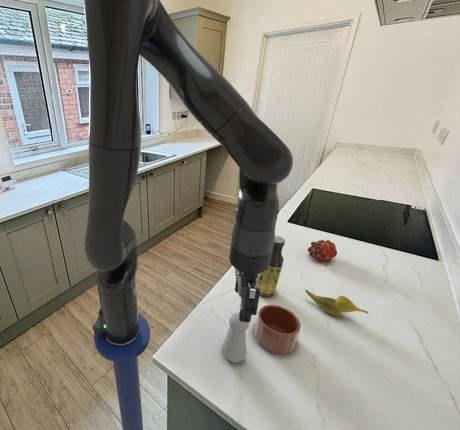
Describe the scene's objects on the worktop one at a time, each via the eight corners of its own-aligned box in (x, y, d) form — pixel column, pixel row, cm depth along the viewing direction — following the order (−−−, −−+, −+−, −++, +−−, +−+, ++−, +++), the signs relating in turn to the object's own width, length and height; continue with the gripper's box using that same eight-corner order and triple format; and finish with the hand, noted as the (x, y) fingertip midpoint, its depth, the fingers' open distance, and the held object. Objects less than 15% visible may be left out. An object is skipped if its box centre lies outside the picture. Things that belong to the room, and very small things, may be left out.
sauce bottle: (254, 295, 83) (264, 242, 74) (253, 283, 88) (262, 232, 79) (276, 300, 81) (289, 246, 72) (274, 286, 86) (286, 235, 78)
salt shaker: (240, 371, 61) (247, 333, 56) (217, 358, 65) (222, 320, 59) (248, 353, 66) (256, 315, 60) (226, 341, 69) (231, 304, 63)
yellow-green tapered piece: (361, 331, 70) (369, 313, 67) (300, 303, 79) (305, 287, 76) (363, 321, 73) (371, 303, 70) (304, 295, 82) (309, 279, 79)
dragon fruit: (308, 267, 97) (321, 259, 104) (334, 264, 90) (346, 256, 97) (300, 245, 98) (313, 238, 105) (324, 241, 91) (337, 234, 98)
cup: (257, 351, 66) (262, 332, 63) (251, 321, 74) (255, 302, 71) (299, 357, 64) (306, 338, 61) (288, 325, 72) (293, 307, 69)
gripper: (228, 224, 57) (222, 282, 65) (234, 263, 45) (226, 329, 52) (264, 226, 56) (254, 285, 63) (282, 267, 43) (266, 335, 51)
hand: (241, 305), depth 58 cm, fingers open, 8 cm apart
